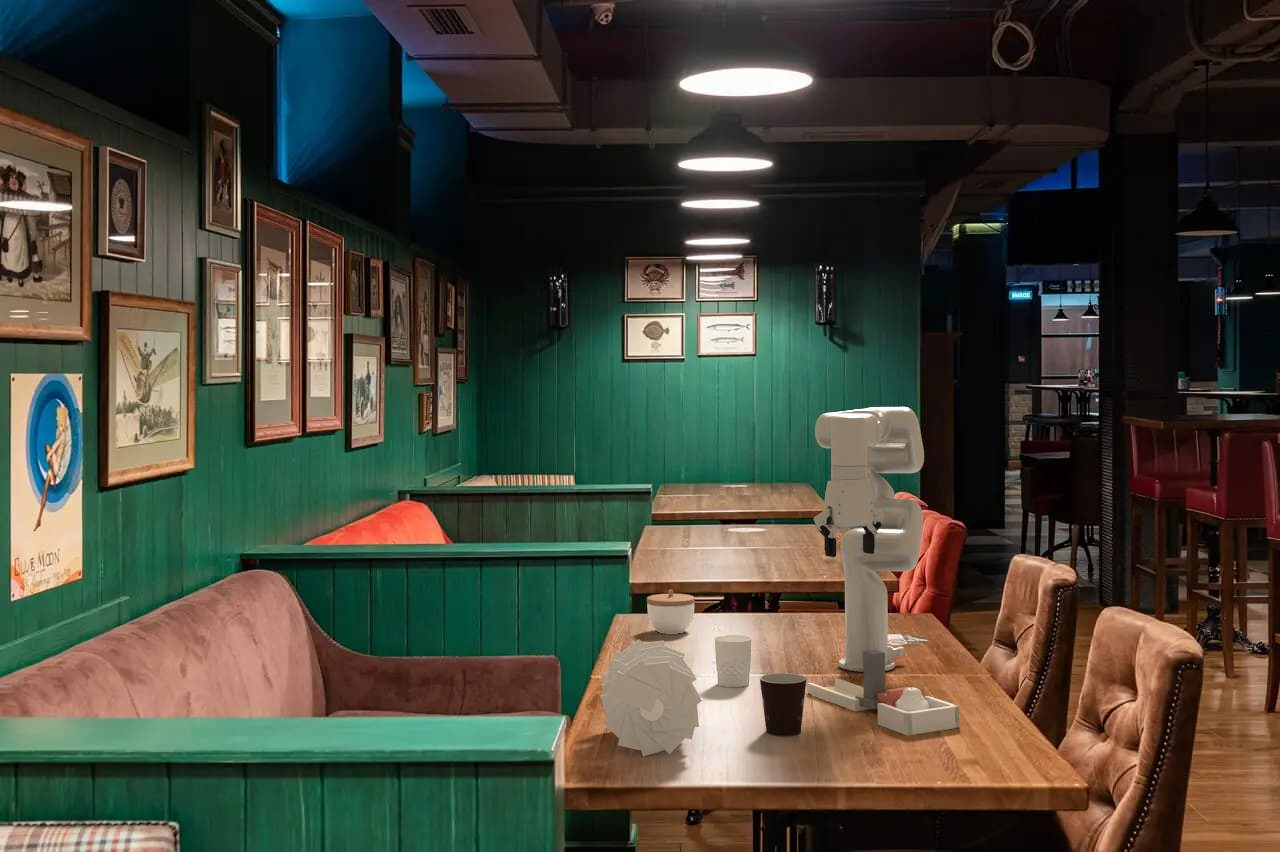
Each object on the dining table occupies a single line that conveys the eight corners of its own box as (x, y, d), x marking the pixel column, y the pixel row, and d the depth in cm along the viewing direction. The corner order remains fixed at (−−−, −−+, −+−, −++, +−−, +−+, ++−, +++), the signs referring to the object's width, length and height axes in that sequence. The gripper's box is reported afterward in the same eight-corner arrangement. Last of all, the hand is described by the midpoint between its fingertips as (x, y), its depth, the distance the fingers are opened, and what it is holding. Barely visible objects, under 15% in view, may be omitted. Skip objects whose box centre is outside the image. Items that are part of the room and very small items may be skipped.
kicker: (876, 699, 258) (875, 648, 258) (912, 712, 248) (912, 658, 247) (854, 702, 256) (854, 650, 256) (890, 715, 245) (890, 661, 245)
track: (839, 689, 272) (839, 678, 272) (888, 706, 257) (888, 695, 257) (807, 693, 269) (807, 683, 269) (855, 711, 253) (855, 700, 253)
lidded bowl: (695, 636, 333) (695, 593, 332) (646, 636, 333) (646, 594, 333) (694, 627, 345) (693, 586, 345) (647, 627, 345) (646, 586, 345)
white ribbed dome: (893, 719, 247) (892, 683, 247) (925, 719, 247) (924, 682, 247) (898, 727, 241) (898, 690, 241) (931, 727, 241) (931, 690, 241)
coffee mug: (794, 740, 233) (794, 685, 233) (752, 734, 238) (751, 680, 238) (821, 725, 243) (820, 672, 243) (779, 719, 248) (779, 668, 247)
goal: (928, 716, 249) (928, 696, 249) (959, 727, 241) (959, 706, 241) (877, 724, 243) (877, 703, 243) (907, 735, 235) (907, 713, 235)
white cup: (749, 689, 273) (749, 642, 273) (712, 687, 275) (712, 641, 275) (753, 680, 281) (753, 635, 281) (717, 679, 283) (717, 634, 282)
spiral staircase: (669, 745, 245) (678, 778, 220) (585, 707, 245) (584, 736, 220) (709, 658, 246) (723, 680, 221) (625, 619, 246) (629, 638, 221)
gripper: (872, 471, 279) (872, 550, 280) (804, 474, 272) (805, 555, 272) (893, 473, 273) (893, 554, 273) (825, 476, 265) (825, 559, 265)
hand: (849, 554), depth 273 cm, fingers open, 9 cm apart
